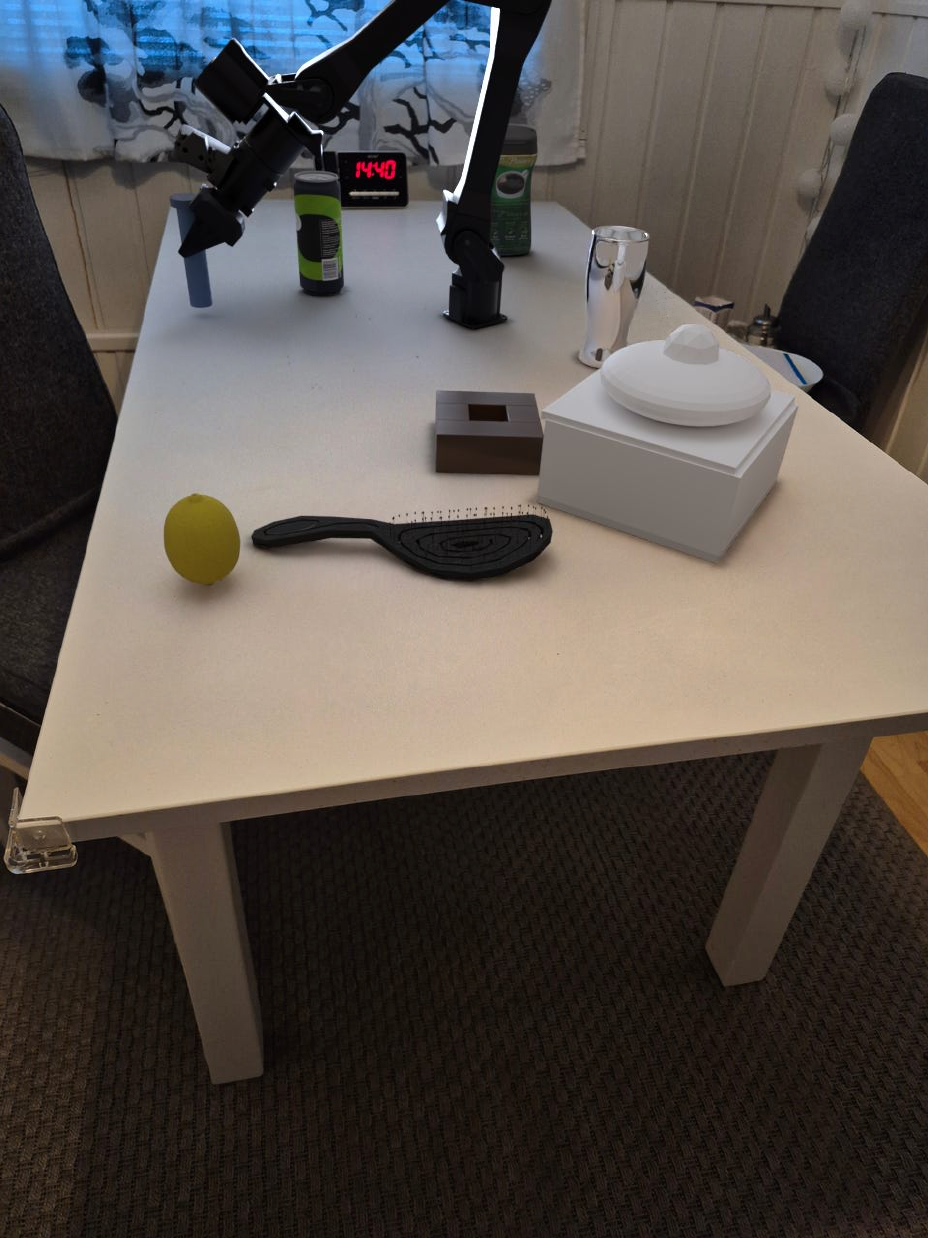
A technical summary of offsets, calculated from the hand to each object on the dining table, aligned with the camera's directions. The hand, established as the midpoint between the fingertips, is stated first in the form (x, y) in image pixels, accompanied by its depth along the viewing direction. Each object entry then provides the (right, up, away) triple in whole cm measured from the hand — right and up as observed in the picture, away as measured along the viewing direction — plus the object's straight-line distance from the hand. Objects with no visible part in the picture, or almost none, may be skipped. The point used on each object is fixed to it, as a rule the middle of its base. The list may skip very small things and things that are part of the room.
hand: (182, 251), depth 111 cm
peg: (+1, -5, +4) cm, 7 cm away
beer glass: (+53, -14, -1) cm, 54 cm away
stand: (+38, -29, -21) cm, 52 cm away
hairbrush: (+30, -41, -36) cm, 62 cm away
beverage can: (+15, +1, +16) cm, 22 cm away
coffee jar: (+41, +15, +36) cm, 57 cm away
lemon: (+15, -44, -41) cm, 62 cm away
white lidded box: (+54, -34, -26) cm, 69 cm away
